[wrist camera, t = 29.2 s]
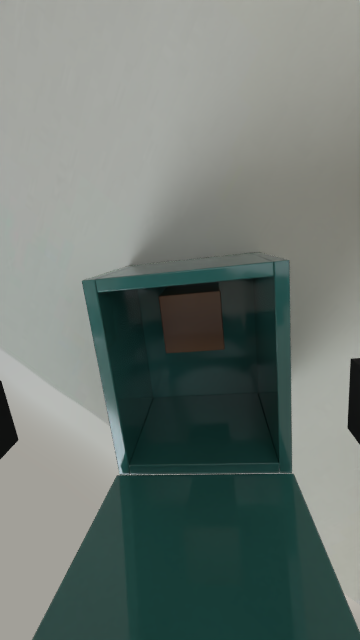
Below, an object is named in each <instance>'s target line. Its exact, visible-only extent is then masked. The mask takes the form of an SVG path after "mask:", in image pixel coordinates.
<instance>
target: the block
mask: <svg viewBox="0 0 360 640" xmlns="http://www.w3.org/2000/svg"><path fill="white" fill-rule="evenodd" d="M159 304H160V312H161V320H162V327H163V335H164V343H165V350H166V353H180V352H196V351H211V350H224V349H225V345H224V332H223V318H222V305H221V292H220V286H219V282H212V283H201V284H191V285H180V286H169V287H167V288H166V289H165V290H164V291H163V292H162V293H161V294H160V296H159Z"/></svg>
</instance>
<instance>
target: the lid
mask: <svg viewBox="0 0 360 640" xmlns="http://www.w3.org/2000/svg"><path fill="white" fill-rule="evenodd" d="M32 640H360V632H359V629H358V627H357V624H356V622H355V620H354V617H353V615H352V612H351V610H350V608H349V605H348V603H347V600H346V598H345V596H344V593H343V591H342V588H341V586H340V584H339V581H338V579H337V576H336V574H335V572H334V569H333V567H332V564H331V562H330V560H329V557H328V555H327V552H326V550H325V548H324V545H323V543H322V540H321V538H320V536H319V533H318V531H317V528H316V526H315V524H314V521H313V519H312V516H311V514H310V512H309V509H308V507H307V504H306V502H305V500H304V497H303V495H302V492H301V490H300V488H299V485H298V483H297V480H296V478H295V476H294V474H207V475H117V476H116V478H115V480H114V482H113V484H112V486H111V488H110V490H109V492H108V494H107V496H106V498H105V500H104V501H103V503H102V505H101V507H100V509H99V511H98V513H97V515H96V517H95V519H94V521H93V523H92V525H91V527H90V529H89V531H88V533H87V534H86V536H85V538H84V540H83V542H82V544H81V546H80V548H79V550H78V552H77V554H76V556H75V558H74V560H73V562H72V564H71V565H70V568H69V569H68V571H67V573H66V575H65V577H64V579H63V581H62V583H61V585H60V587H59V589H58V591H57V592H56V594H55V596H54V599H53V600H52V602H51V604H50V606H49V608H48V610H47V612H46V614H45V616H44V618H43V620H42V622H41V623H40V625H39V627H38V629H37V631H36V633H35V635H34V637H33V639H32Z"/></svg>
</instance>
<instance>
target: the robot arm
mask: <svg viewBox="0 0 360 640" xmlns="http://www.w3.org/2000/svg"><path fill="white" fill-rule="evenodd" d="M348 429H349V430H350V432H351V433H352V435H353V436H354V437H355V439H356V440H357V441H358V443H359V444H360V358H356V359H351V366H350V388H349V409H348ZM17 441H18V437H17V433H16V430H15V426H14V423H13V419H12V416H11V413H10V409H9V406H8V403H7V399H6V396H5V393H4V389H3V386H2V382H1V381H0V459H1V458H2V457H3V456H4V455H5V454H6V453H7V451H9V449H10V448H11V447H12V446H13V445H14V444H15V443H16V442H17Z"/></svg>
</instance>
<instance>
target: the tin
mask: <svg viewBox="0 0 360 640" xmlns="http://www.w3.org/2000/svg"><path fill="white" fill-rule="evenodd" d="M212 282H219V286H220V292H221V305H222V318H223V332H224V345H225V349H224V350H211V351H196V352H180V353H166V350H165V343H164V335H163V327H162V320H161V312H160V304H159V296H160V294H161V293H162V292H163V291H164V290H165V289H166V288H167V287H169V286H180V285H191V284H201V283H212ZM82 284H83V289H84V294H85V300H86V305H87V310H88V315H89V320H90V325H91V330H92V335H93V341H94V346H95V351H96V356H97V361H98V366H99V371H100V376H101V382H102V387H103V392H104V397H105V402H106V407H107V412H108V417H109V423H110V428H111V433H112V438H113V443H114V448H115V453H116V458H117V464H118V468H119V474H120V475H125V474H126V475H129V474H131V475H136V474H236V473H279V472H280V473H292V424H291V344H290V265H289V260H287V259H284V258H280V257H276V256H273V255H269V254H265V253H262V252H254V253H245V254H235V255H225V256H216V257H206V258H197V259H187V260H178V261H168V262H159V263H149V264H140V265H130V266H126V267H123V268H120V269H117V270H113V271H110V272H107V273H104V274H101V275H98V276H95V277H92V278H89V279H86V280H83V281H82Z"/></svg>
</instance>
